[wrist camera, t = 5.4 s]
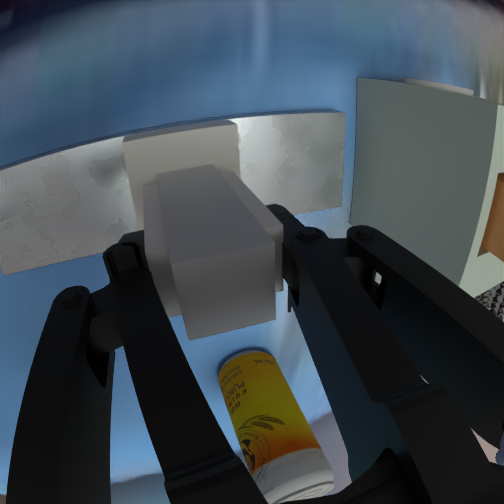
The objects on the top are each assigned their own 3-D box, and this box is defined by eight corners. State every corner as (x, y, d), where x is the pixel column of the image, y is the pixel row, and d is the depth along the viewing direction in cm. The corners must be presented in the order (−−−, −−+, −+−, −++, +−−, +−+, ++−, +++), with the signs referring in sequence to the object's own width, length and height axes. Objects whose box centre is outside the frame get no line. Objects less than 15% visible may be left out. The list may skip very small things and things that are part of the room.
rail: (9, 264, 19) (4, 275, 18) (-21, 175, 15) (-31, 182, 14) (331, 199, 25) (341, 206, 23) (333, 109, 21) (345, 112, 20)
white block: (349, 223, 26) (449, 310, 17) (356, 72, 20) (498, 96, 10) (409, 212, 28) (504, 280, 18) (421, 80, 22) (545, 112, 12)
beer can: (217, 350, 29) (273, 499, 17) (278, 342, 31) (350, 473, 19) (214, 389, 32) (259, 518, 20) (268, 380, 34) (325, 498, 22)
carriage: (145, 244, 20) (160, 385, 11) (124, 136, 16) (99, 208, 7) (236, 226, 21) (311, 345, 12) (228, 119, 18) (323, 170, 9)
